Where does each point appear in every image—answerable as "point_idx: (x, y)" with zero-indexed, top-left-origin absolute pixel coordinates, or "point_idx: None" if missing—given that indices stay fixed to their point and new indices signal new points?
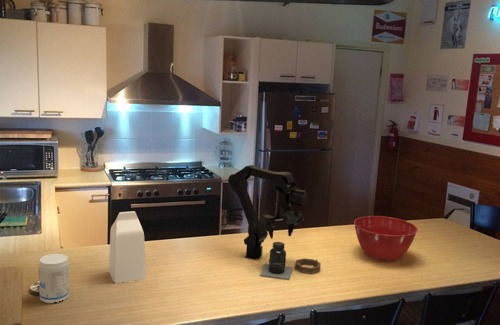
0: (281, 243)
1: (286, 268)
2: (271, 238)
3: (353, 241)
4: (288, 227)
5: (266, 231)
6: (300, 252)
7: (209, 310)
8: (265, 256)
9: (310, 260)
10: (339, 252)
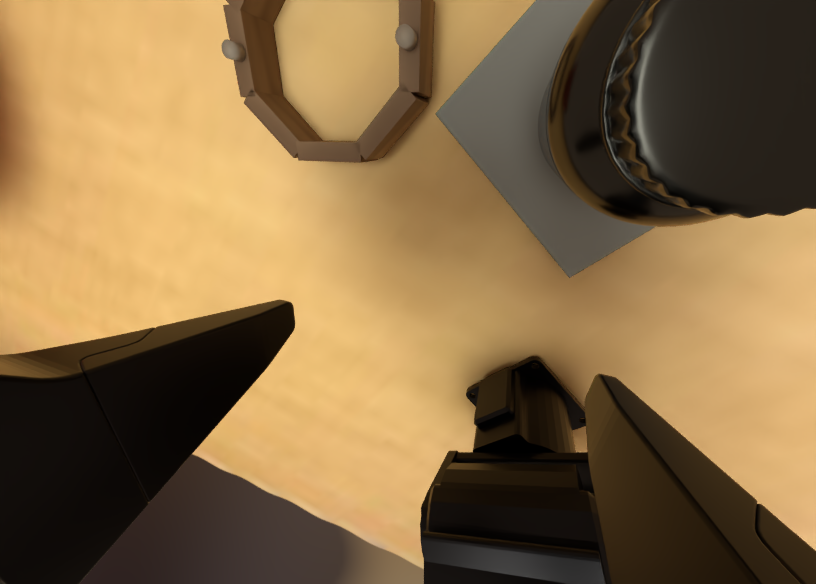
0: (725, 36)
1: (496, 119)
2: (617, 383)
3: (18, 258)
4: (207, 422)
5: (438, 530)
6: (262, 296)
7: None
8: (462, 363)
9: (271, 107)
10: (88, 192)
